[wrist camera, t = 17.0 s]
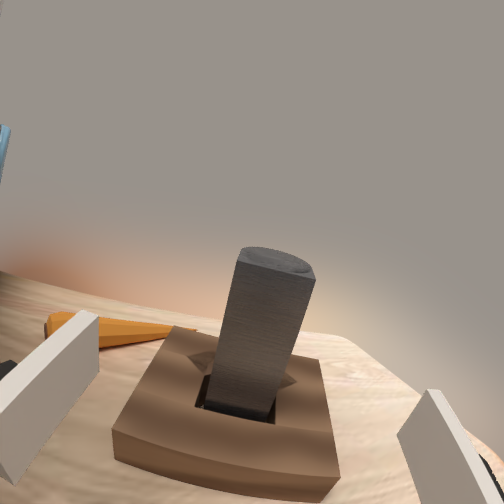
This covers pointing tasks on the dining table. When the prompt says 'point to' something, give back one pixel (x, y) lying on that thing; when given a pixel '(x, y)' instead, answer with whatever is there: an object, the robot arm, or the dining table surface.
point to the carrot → (113, 330)
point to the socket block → (228, 428)
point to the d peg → (258, 332)
